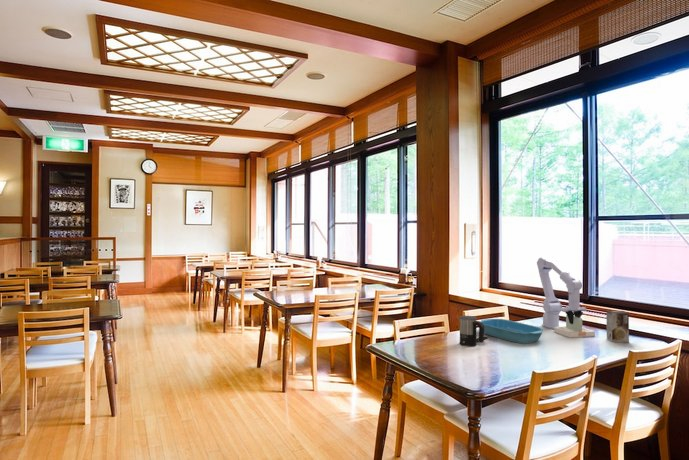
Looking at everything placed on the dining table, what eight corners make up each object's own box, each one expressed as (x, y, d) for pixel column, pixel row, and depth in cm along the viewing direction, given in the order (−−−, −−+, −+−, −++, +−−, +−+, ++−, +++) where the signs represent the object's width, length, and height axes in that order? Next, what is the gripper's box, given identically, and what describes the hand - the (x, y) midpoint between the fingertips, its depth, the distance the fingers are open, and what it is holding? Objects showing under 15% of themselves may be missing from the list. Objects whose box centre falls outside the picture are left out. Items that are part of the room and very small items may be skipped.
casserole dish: (551, 341, 240) (551, 328, 240) (527, 347, 228) (527, 334, 228) (495, 328, 271) (495, 316, 271) (471, 333, 259) (471, 321, 258)
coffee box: (622, 339, 243) (623, 310, 243) (629, 342, 237) (629, 313, 236) (605, 338, 244) (606, 310, 244) (611, 341, 238) (612, 312, 237)
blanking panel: (566, 326, 259) (566, 315, 259) (570, 326, 260) (570, 315, 260) (577, 330, 250) (577, 318, 249) (582, 330, 250) (582, 318, 250)
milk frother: (457, 345, 232) (457, 317, 232) (463, 338, 246) (463, 312, 246) (484, 349, 225) (484, 320, 225) (489, 341, 239) (489, 315, 239)
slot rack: (553, 331, 260) (553, 326, 260) (578, 330, 263) (578, 325, 263) (569, 337, 247) (569, 332, 246) (595, 336, 249) (595, 331, 249)
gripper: (567, 302, 249) (567, 325, 250) (589, 301, 252) (589, 324, 252) (559, 300, 256) (559, 322, 257) (581, 299, 259) (581, 321, 259)
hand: (574, 323), depth 255 cm, fingers closed on blanking panel, 3 cm apart
